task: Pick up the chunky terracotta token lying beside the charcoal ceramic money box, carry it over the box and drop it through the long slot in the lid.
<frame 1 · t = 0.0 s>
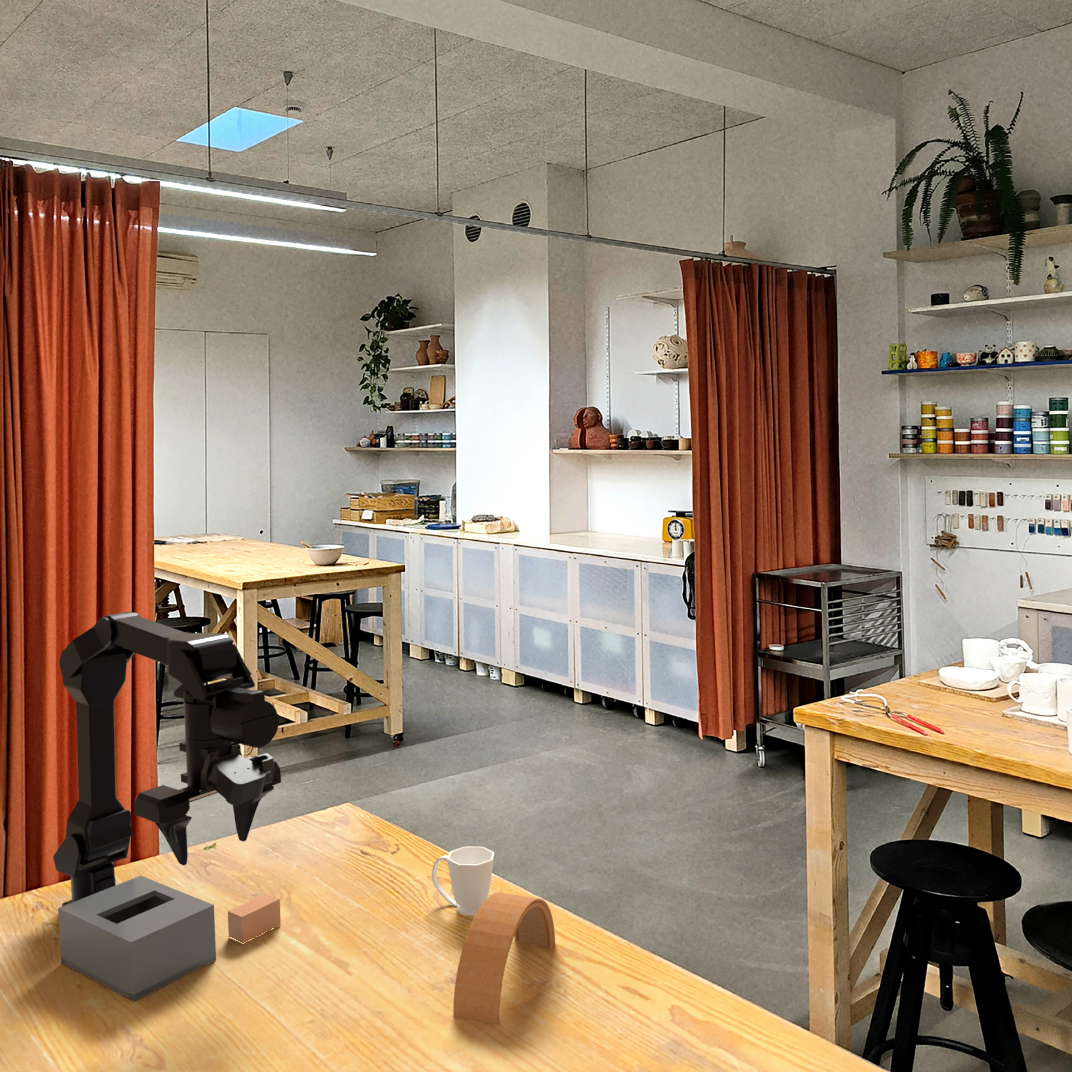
hand: (213, 852, 133), 15 cm above the table, tool pointing down, fingers open, 9 cm apart
money box: (138, 961, 134), on the table
terracotta token: (255, 932, 142), on the table
arch: (507, 980, 130), on the table
cup: (462, 908, 149), on the table
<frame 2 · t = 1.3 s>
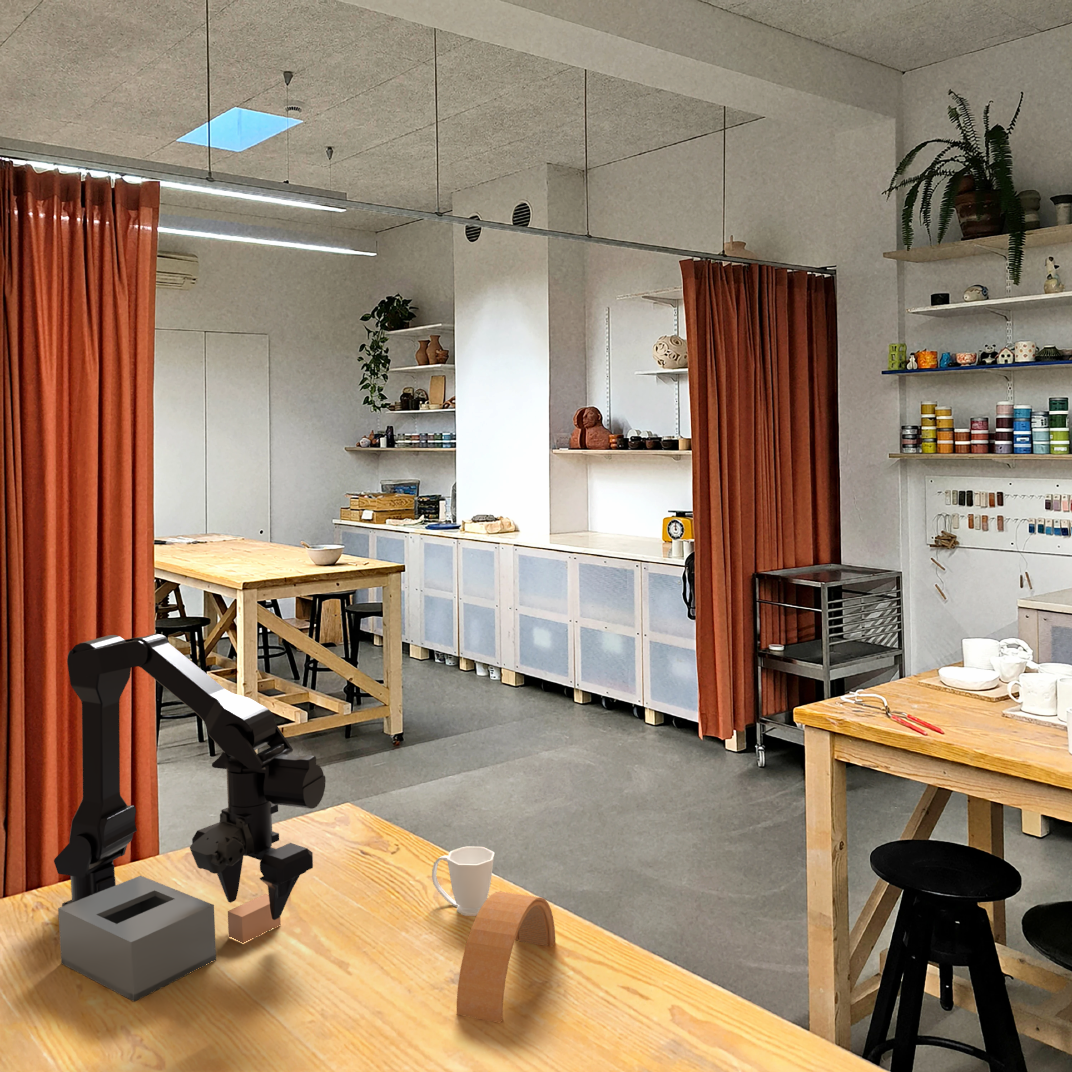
hand: (253, 909, 142), 3 cm above the table, tool pointing down, fingers open, 9 cm apart
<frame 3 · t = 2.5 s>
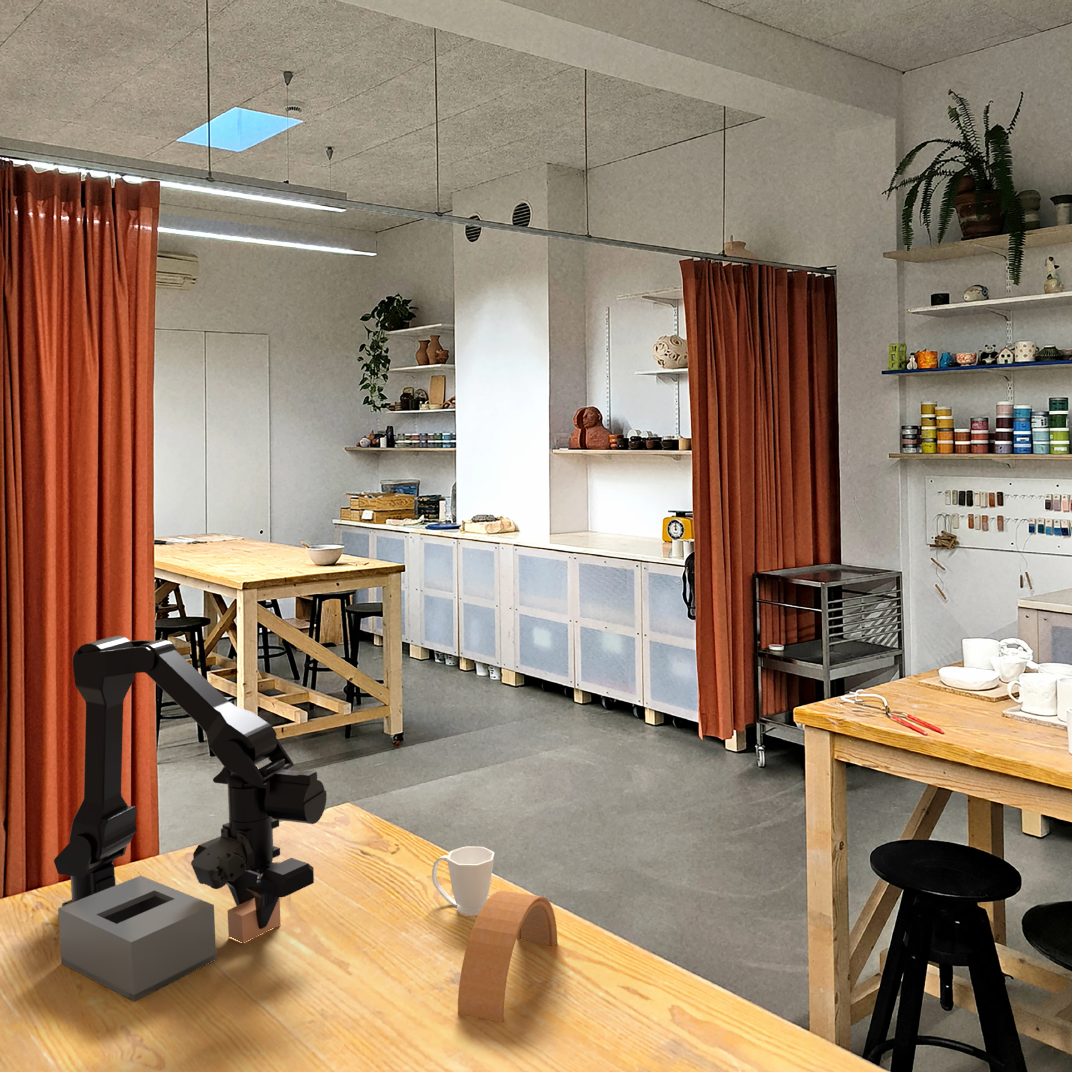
hand: (254, 924, 142), 1 cm above the table, tool pointing down, fingers closed on terracotta token, 3 cm apart
terracotta token: (254, 931, 142), on the table, touching gripper
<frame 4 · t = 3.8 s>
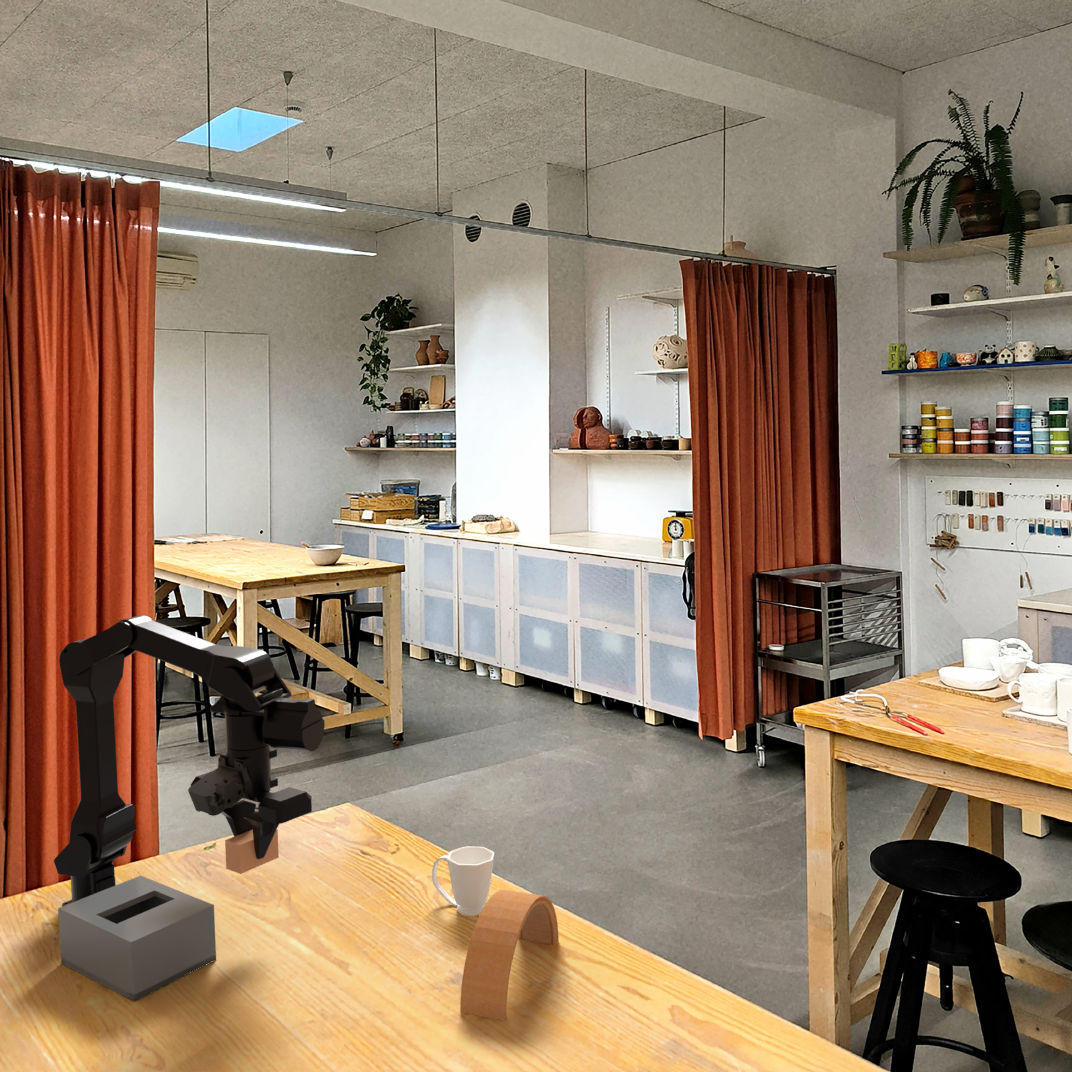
hand: (252, 855, 141), 11 cm above the table, tool pointing down, fingers closed on terracotta token, 3 cm apart
terracotta token: (252, 863, 141), point 10 cm above the table, touching gripper
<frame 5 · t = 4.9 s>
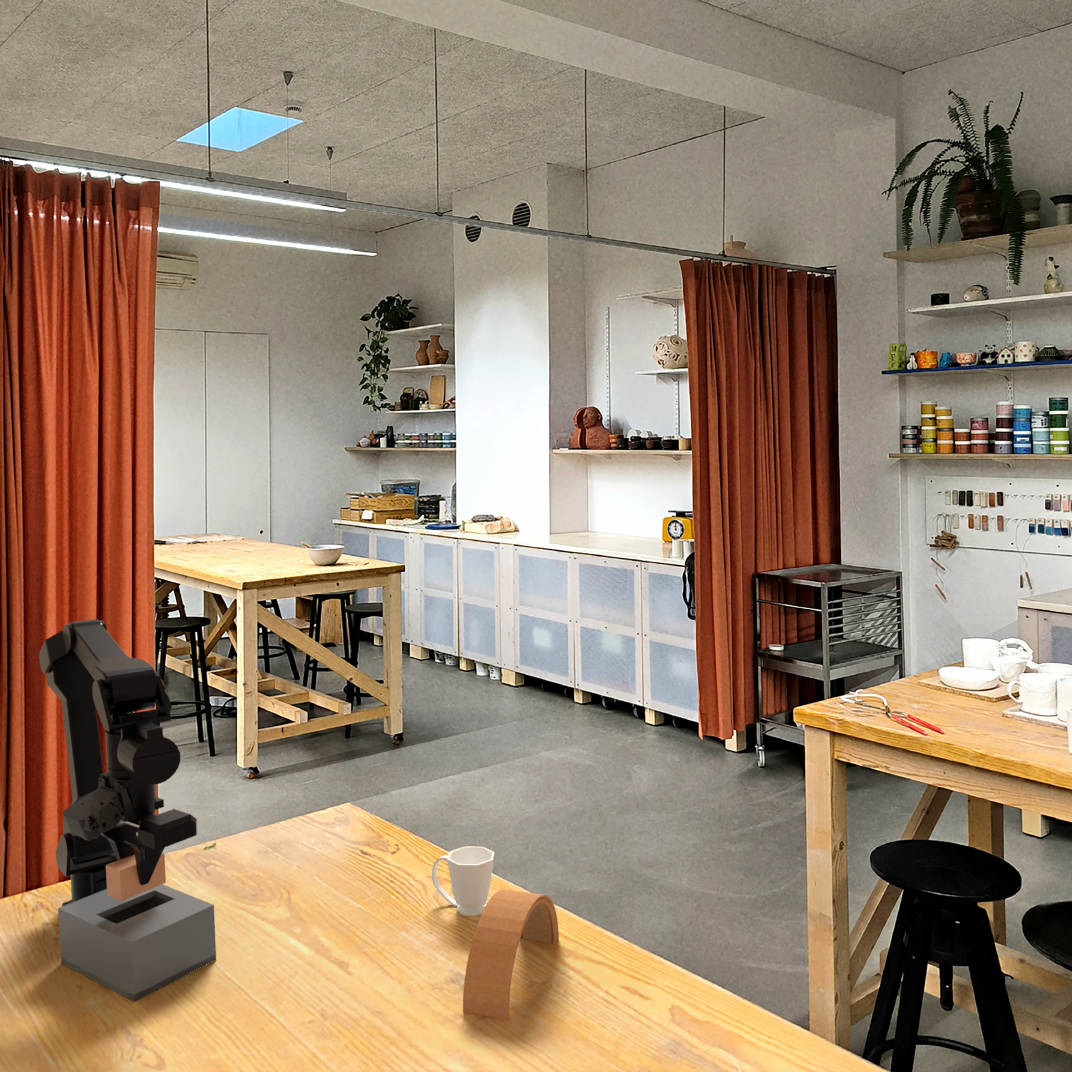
hand: (136, 880, 133), 11 cm above the table, tool pointing down, fingers closed on terracotta token, 3 cm apart
terracotta token: (136, 888, 134), point 10 cm above the table, touching gripper
when the fingers open (9 cm above the table, at t = 5.5 s): terracotta token drops 6 cm and tips over, resting on money box.
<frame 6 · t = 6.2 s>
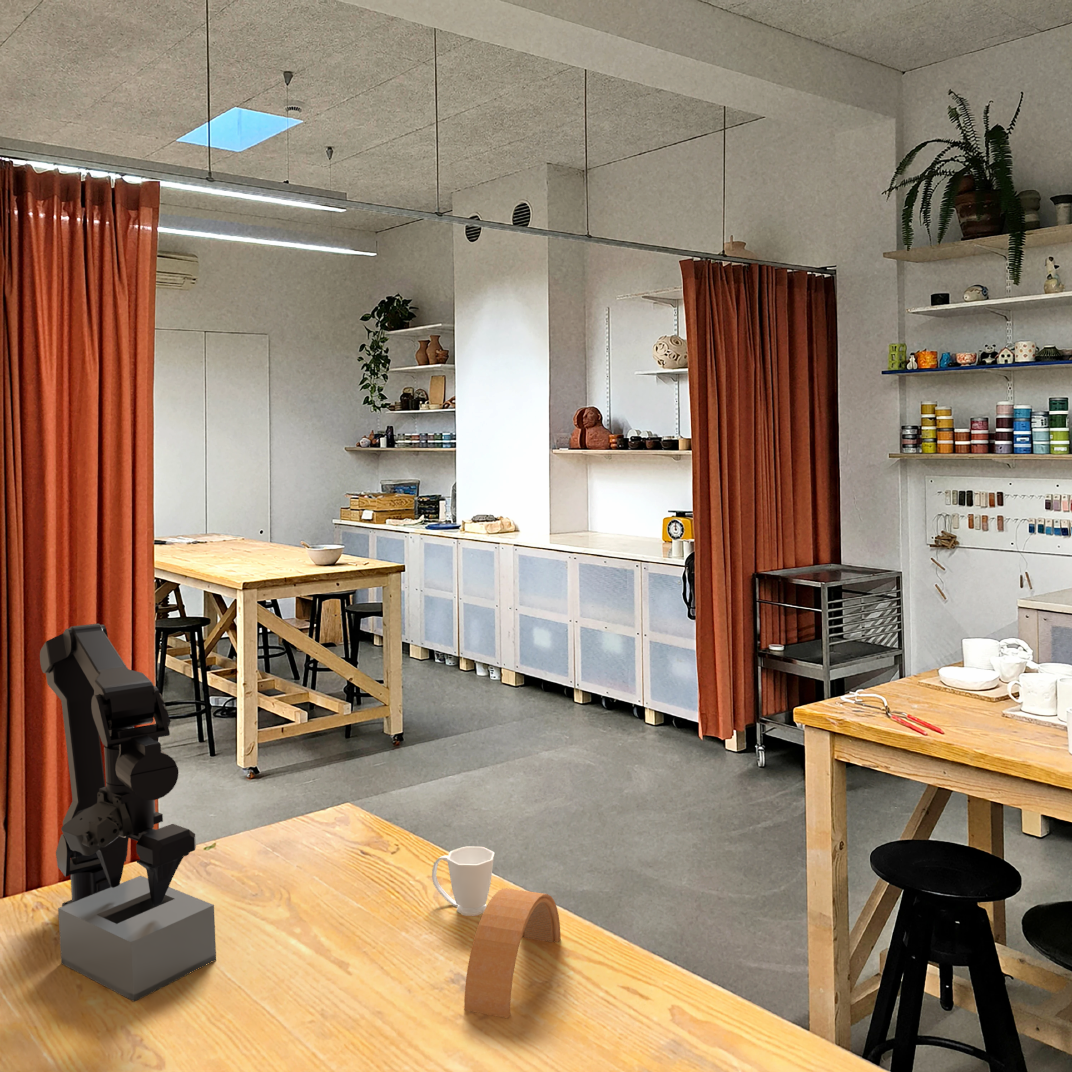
hand: (135, 895, 134), 9 cm above the table, tool pointing down, fingers open, 9 cm apart
terracotta token: (145, 948, 133), point 2 cm above the table, tilted 90°, touching money box
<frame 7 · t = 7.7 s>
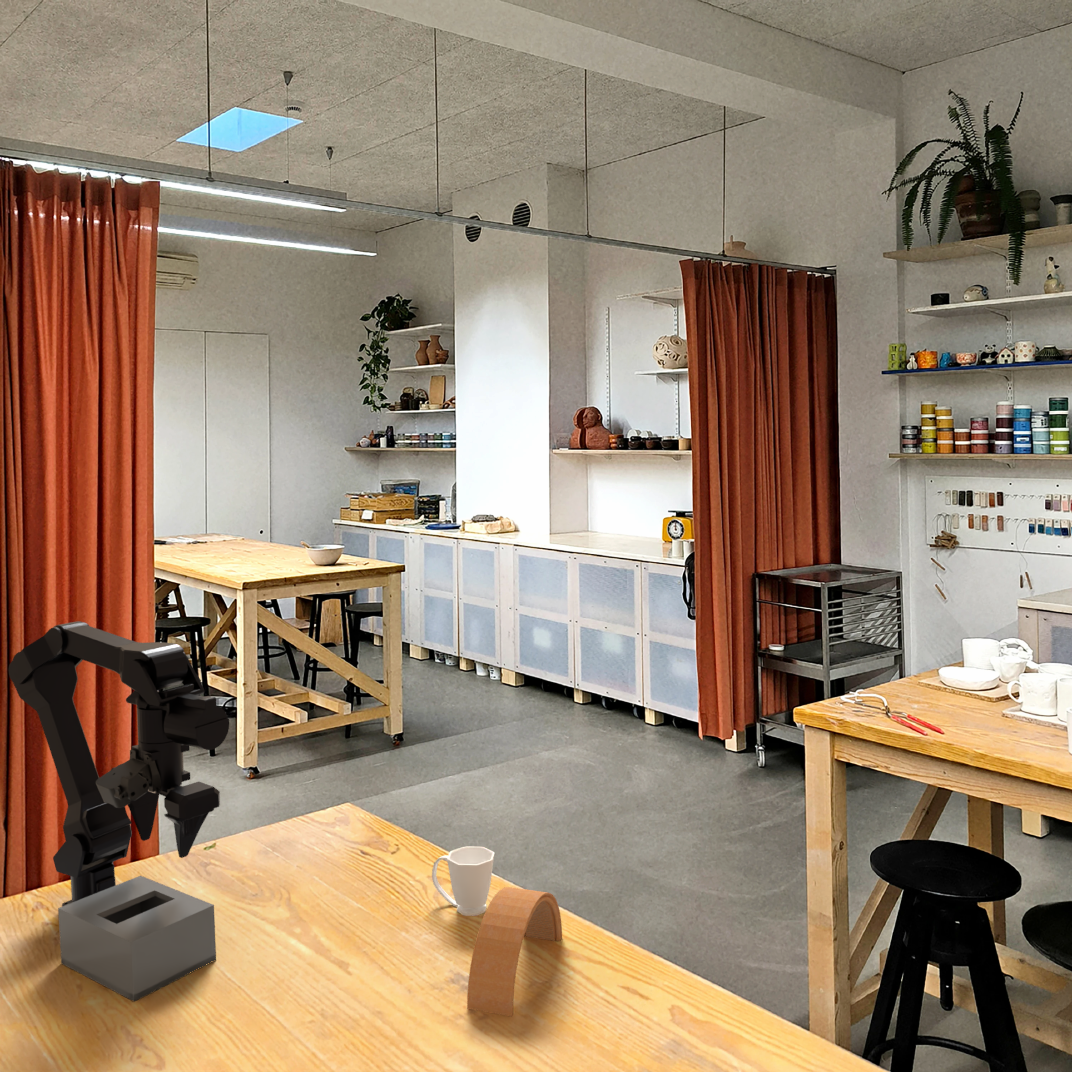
hand: (164, 848, 142), 12 cm above the table, tool pointing down, fingers open, 9 cm apart
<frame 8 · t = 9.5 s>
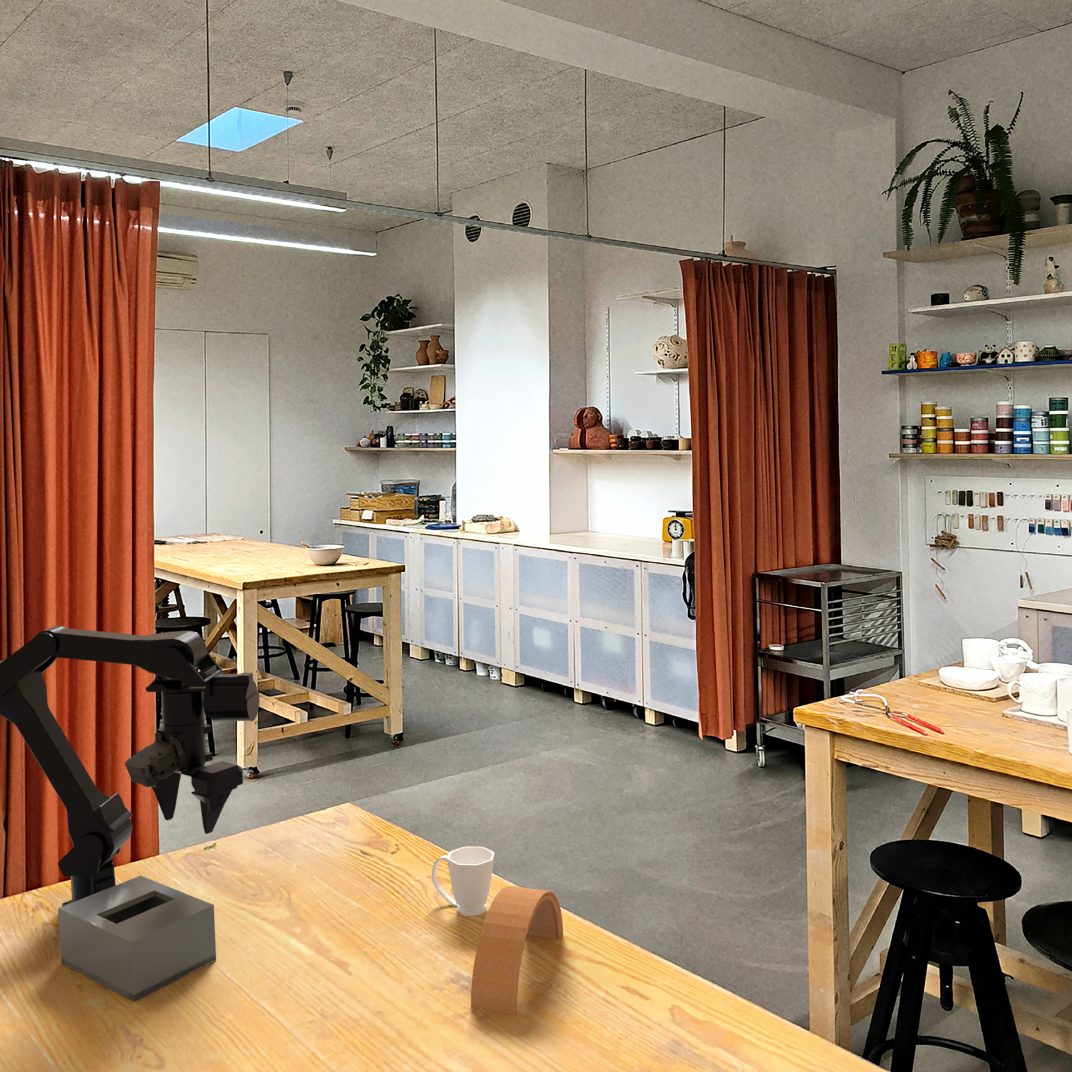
hand: (188, 826, 149), 12 cm above the table, tool pointing down, fingers open, 9 cm apart
at the end: terracotta token inside the target area on the money box (1.6 cm from its centre), point 2.3 cm above the money box's base; the gripper is holding nothing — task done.
